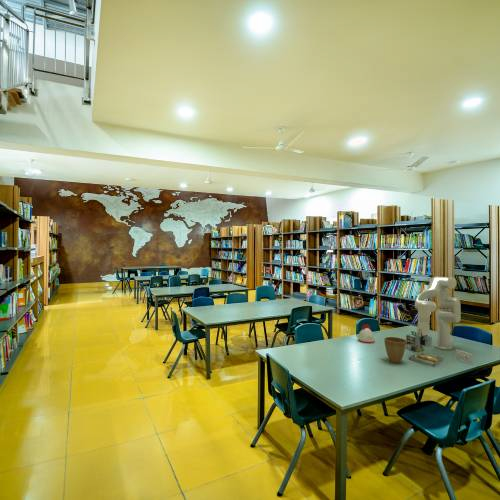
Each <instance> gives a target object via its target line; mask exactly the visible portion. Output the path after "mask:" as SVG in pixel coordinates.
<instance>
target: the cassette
mask: <svg viewBox="0 0 500 500" xmlns="http://www.w3.org/2000/svg"><path fill="white" fill-rule="evenodd" d="M455 360H457V361H459V362H462V363H465V364H467V365H471V366H472V365H473V354H472V353H470V352H468V351H464V350H460V349H458V348H456V349H455Z"/></svg>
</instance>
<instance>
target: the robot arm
mask: <svg viewBox="0 0 500 500" xmlns="http://www.w3.org/2000/svg"><path fill="white" fill-rule="evenodd" d="M456 287H457V279H456V278H455V277H451V276H448V277H447V276H433V277H432V278H430V280H429V283H428V286H427V289H425V290H424V291H421V292H420V293H419V294H418V295H417V297H416V298H415V301H414V308H415V309H416V310H417V326H416V329H417V330H416V333H417V335H419V337H420V345H425V340H424V338H425V336H429V335H430V329H431V328H430V327H431V326H430V322H431V319H430V317H431V315H430V313H432V312H435V319H436V343H435V344H434V347H435V348H438V349H441V350H452V349H453V346H452V345H451V343H452V341H451V325H450V324H449V323H455V324H457V323H460V322H461V320H462V319H461V318H462V316H461V315H462V313H461V311H462V309H461V307H462V306H461V301H460V299H459V298H457V297H453V296H452V297H451V296H450V290H449V289H455V288H456ZM431 298H437V304H436V302H435V301H431V300H427V299H431ZM437 307H439V309H437ZM422 336H423V337H422Z"/></svg>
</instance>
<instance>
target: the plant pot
mask: <svg viewBox="0 0 500 500" xmlns="http://www.w3.org/2000/svg"><path fill="white" fill-rule="evenodd" d="M383 339H384V346H385V352H386V354H387V357H388V360H389V362H391V363H395V364H400V363H401V361H402V359H403V357H404V354H405V352H406V348H407V347H406V342H407V341H406V338H402V337H397V336H386V337H383Z"/></svg>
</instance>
